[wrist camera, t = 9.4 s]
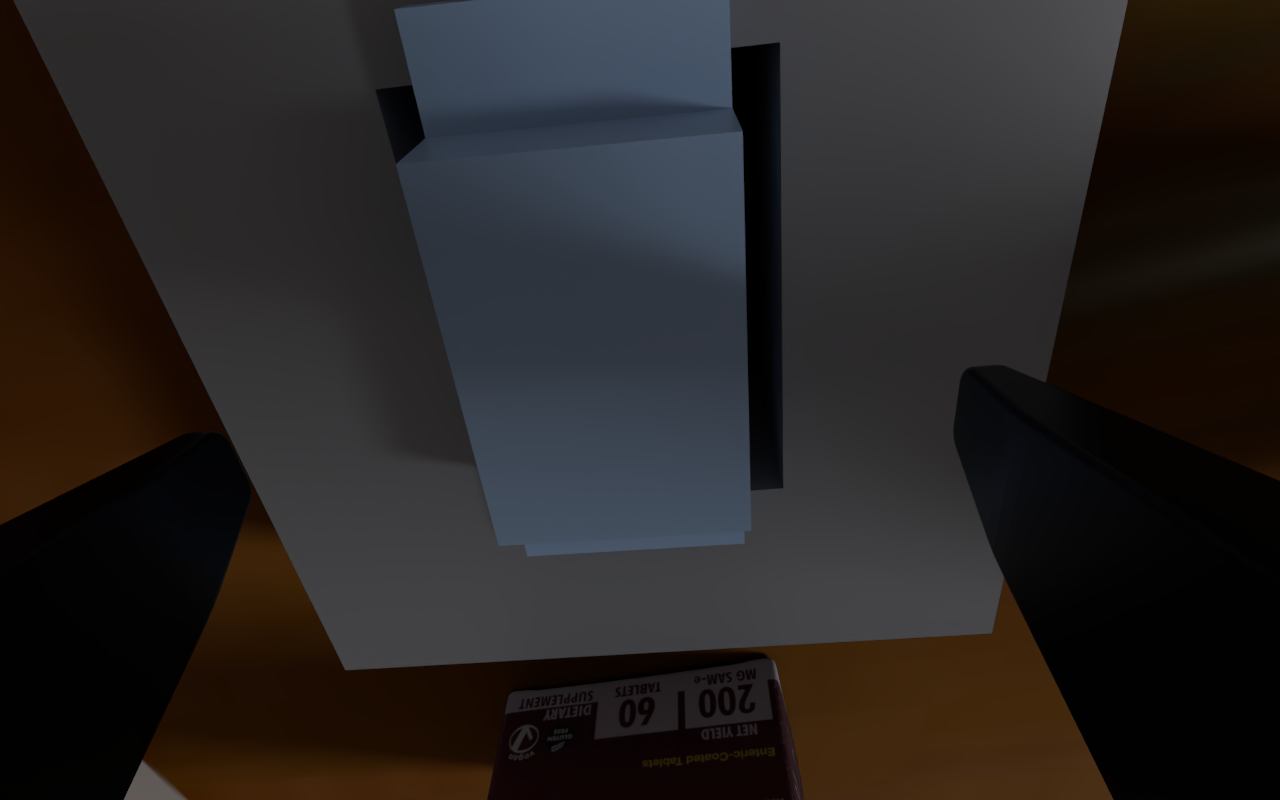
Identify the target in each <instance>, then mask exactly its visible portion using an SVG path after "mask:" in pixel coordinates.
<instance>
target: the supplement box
mask: <svg viewBox="0 0 1280 800" xmlns="http://www.w3.org/2000/svg"><path fill="white" fill-rule="evenodd" d="M487 800H804V797H803V790H802V783H801V776H800V772H799V768H798V762H797V757H796V753H795V747H794V742H793V738H792V734H791V729H790V725H789V721H788V717H787V712H786V708H785V703H784V699H783V695H782V690H781V686H780V681H779V677H778V672H777V668H776V665H775V662H774V661H773V659H771V658H762V659H755V660H751V661H747V662H744V663H739V664H732V665H725V666H718V667H711V668H704V669H697V670H690V671H683V672H676V673H669V674H662V675H654V676H646V677H639V678H632V679H625V680H617V681H609V682H601V683H594V684H586V685H577V686H568V687H560V688H551V689H543V690H523V691H515V692H512V693H511V694H510V695H509V696H508V701H507V705H506V711H505V715H504V719H503V726H502V730H501V735H500V740H499V745H498V749H497V754H496V759H495V764H494V768H493V774H492V779H491V784H490V789H489V794H488V799H487Z"/></svg>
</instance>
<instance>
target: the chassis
mask: <svg viewBox="0 0 1280 800" xmlns="http://www.w3.org/2000/svg"><path fill="white" fill-rule="evenodd" d="M13 1H14V3H15V5H16V7H17V9H18V11H19V13H20V15H21V17H22V19H23V21H24V23H25V25H26V27H27V29H28V31H29V33H30V35H31V37H32V39H33V41H34V43H35V45H36V47H37V49H38V51H39V53H40V55H41V57H42V59H43V61H44V63H45V65H46V67H47V69H48V71H49V73H50V75H51V77H52V79H53V81H54V83H55V85H56V87H57V89H58V91H59V93H60V95H61V97H62V99H63V101H64V103H65V105H66V107H67V109H68V112H69V114H70V116H71V118H72V120H73V122H74V124H75V126H76V128H77V130H78V132H79V134H80V136H81V138H82V140H83V142H84V144H85V146H86V148H87V150H88V152H89V154H90V156H91V158H92V160H93V162H94V164H95V166H96V168H97V170H98V172H99V174H100V176H101V178H102V180H103V182H104V184H105V186H106V188H107V190H108V192H109V194H110V196H111V198H112V200H113V202H114V204H115V206H116V208H117V210H118V212H119V214H120V216H121V218H122V220H123V222H124V225H125V227H126V229H127V231H128V233H129V235H130V237H131V239H132V241H133V243H134V245H135V247H136V249H137V251H138V253H139V255H140V257H141V259H142V261H143V263H144V265H145V267H146V269H147V271H148V273H149V275H150V277H151V279H152V281H153V283H154V285H155V287H156V289H157V291H158V293H159V295H160V297H161V299H162V301H163V303H164V305H165V307H166V309H167V311H168V313H169V315H170V317H171V319H172V321H173V323H174V325H175V327H176V329H177V331H178V333H179V335H180V338H181V340H182V342H183V344H184V346H185V348H186V350H187V352H188V354H189V356H190V358H191V360H192V362H193V364H194V366H195V368H196V370H197V372H198V374H199V376H200V378H201V380H202V382H203V384H204V386H205V388H206V390H207V392H208V394H209V396H210V398H211V400H212V402H213V404H214V406H215V408H216V410H217V412H218V414H219V416H220V418H221V420H222V422H223V424H224V426H225V428H226V430H227V432H228V434H229V436H230V438H231V440H232V442H233V444H234V446H235V448H236V451H237V453H238V455H239V457H240V459H241V461H242V463H243V465H244V467H245V469H246V471H247V473H248V475H249V477H250V479H251V481H252V483H253V485H254V487H255V489H256V491H257V493H258V495H259V497H260V499H261V501H262V503H263V505H264V507H265V509H266V511H267V513H268V515H269V517H270V519H271V521H272V523H273V525H274V527H275V529H276V531H277V533H278V535H279V537H280V539H281V541H282V543H283V545H284V547H285V549H286V551H287V553H288V555H289V557H290V559H291V561H292V564H293V566H294V568H295V570H296V572H297V574H298V576H299V578H300V580H301V582H302V584H303V586H304V588H305V590H306V592H307V594H308V596H309V598H310V600H311V602H312V604H313V606H314V608H315V610H316V612H317V614H318V616H319V618H320V620H321V622H322V624H323V626H324V628H325V630H326V632H327V634H328V636H329V638H330V640H331V642H332V644H333V646H334V648H335V650H336V652H337V654H338V656H339V658H340V660H341V662H342V664H343V666H344V668H345V670H359V669H377V668H394V667H412V666H429V665H447V664H464V663H482V662H499V661H516V660H534V659H551V658H569V657H586V656H604V655H621V654H639V653H656V652H673V651H691V650H708V649H726V648H743V647H761V646H778V645H796V644H813V643H830V642H848V641H865V640H883V639H900V638H918V637H935V636H953V635H970V634H987V633H992V631H993V626H994V621H995V617H996V612H997V607H998V603H999V598H1000V593H1001V589H1002V584H1003V579H1004V576H1003V574H1002V572H1001V570H1000V568H999V566H998V563H997V561H996V559H995V557H994V555H993V552H992V550H991V547H990V545H989V542H988V539H987V537H986V534H985V531H984V528H983V525H982V522H981V519H980V516H979V513H978V511H977V508H976V505H975V502H974V499H973V496H972V493H971V490H970V487H969V484H968V482H967V479H966V476H965V473H964V470H963V467H962V464H961V461H960V458H959V455H958V453H957V450H956V446H955V442H954V435H953V426H954V418H955V411H956V404H957V397H958V390H959V383H960V378H961V376H962V373H963V372H964V371H965V369H967V368H969V367H974V366H985V365H1004V366H1007V367H1009V368H1012V369H1014V370H1017V371H1019V372H1021V373H1024V374H1026V375H1028V376H1031V377H1033V378H1036V379H1038V380H1040V381H1043V382H1045V383H1046V379H1047V375H1048V370H1049V365H1050V361H1051V356H1052V351H1053V347H1054V342H1055V338H1056V333H1057V328H1058V324H1059V319H1060V314H1061V310H1062V305H1063V300H1064V296H1065V291H1066V286H1067V282H1068V277H1069V272H1070V268H1071V263H1072V258H1073V254H1074V249H1075V245H1076V240H1077V235H1078V231H1079V226H1080V221H1081V217H1082V212H1083V207H1084V203H1085V198H1086V193H1087V189H1088V184H1089V179H1090V175H1091V170H1092V165H1093V161H1094V156H1095V151H1096V147H1097V142H1098V138H1099V133H1100V128H1101V124H1102V119H1103V114H1104V110H1105V105H1106V100H1107V96H1108V91H1109V86H1110V82H1111V77H1112V72H1113V68H1114V63H1115V58H1116V54H1117V49H1118V45H1119V40H1120V35H1121V31H1122V26H1123V21H1124V17H1125V12H1126V7H1127V3H1128V0H729V2H730V38H731V48H735V47H743V46H748V48H749V84H750V120H751V156H752V192H753V228H754V264H755V300H756V336H757V372H758V377H749V378H748V398H749V444H750V491H751V531H744V536H745V544H729V545H712V546H695V547H678V548H662V549H645V550H628V551H611V552H594V553H577V554H560V555H544V556H527V553H526V549H525V545H509V546H498V542H497V538H496V535H495V531H494V527H493V524H492V520H491V516H490V512H489V509H488V505H487V501H486V498H485V494H484V490H483V486H482V483H481V479H480V475H479V472H478V468H477V464H476V460H475V457H474V453H473V449H472V446H471V442H470V438H469V434H468V431H467V427H466V423H465V420H464V416H463V412H462V408H461V405H460V401H459V397H458V394H457V390H456V386H455V382H454V379H453V375H452V371H451V368H450V364H449V360H448V356H447V353H446V349H445V345H444V342H443V338H442V334H441V330H440V327H439V323H438V319H437V316H436V312H435V308H434V304H433V301H432V297H431V293H430V290H429V286H428V282H427V278H426V275H425V271H424V267H423V264H422V260H421V256H420V252H419V249H418V245H417V241H416V238H415V234H414V230H413V226H412V223H411V219H410V215H409V212H408V208H407V204H406V200H405V197H404V193H403V189H402V186H401V182H400V178H399V174H398V171H397V167H396V164H397V163H398V162H399V161H400V160H401V159H403V158H404V157H405V156H406V155H407V154H408V153H409V152H410V151H412V150H413V149H414V148H415V147H416V146H417V145H418V144H419V143H421V142H422V141H423V140H424V139H425V135H424V130H423V126H422V122H421V118H420V114H419V110H418V106H417V102H416V98H415V94H414V89H413V85H412V81H411V77H410V73H409V69H408V65H407V61H406V57H405V53H404V48H403V44H402V40H401V36H400V32H399V28H398V24H397V20H396V16H395V11H394V9H397V8H400V7H403V6H407V5H414V4H423V3H432V2H441V1H450V0H13Z"/></svg>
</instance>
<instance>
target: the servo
mask: <svg viewBox="0 0 1280 800" xmlns="http://www.w3.org/2000/svg"><path fill="white" fill-rule="evenodd" d="M394 11H395V16H396V20H397V24H398V28H399V32H400V36H401V40H402V44H403V48H404V53H405V57H406V61H407V65H408V69H409V73H410V77H411V81H412V85H413V89H414V94H415V98H416V102H417V106H418V110H419V114H420V118H421V122H422V126H423V130H424V135H425V139H424V140H423V141H422V142H421V143H419V144H418V145H417V146H416V147H415V148H414V149H413V150H412V151H410V152H409V153H408V154H407V155H406V156H405V157H404V158H403V159H401V160H400V161H399V162H398V163H397V164H396V167H397V171H398V174H399V178H400V182H401V186H402V189H403V193H404V197H405V200H406V204H407V208H408V212H409V215H410V219H411V223H412V226H413V230H414V234H415V238H416V241H417V245H418V249H419V252H420V256H421V260H422V264H423V267H424V271H425V275H426V278H427V282H428V286H429V290H430V293H431V297H432V301H433V304H434V308H435V312H436V316H437V319H438V323H439V327H440V330H441V334H442V338H443V342H444V345H445V349H446V353H447V356H448V360H449V364H450V368H451V371H452V375H453V379H454V382H455V386H456V390H457V394H458V397H459V401H460V405H461V408H462V412H463V416H464V420H465V423H466V427H467V431H468V434H469V438H470V442H471V446H472V449H473V453H474V457H475V460H476V464H477V468H478V472H479V475H480V479H481V483H482V486H483V490H484V494H485V498H486V501H487V505H488V509H489V512H490V516H491V520H492V524H493V527H494V531H495V535H496V538H497V542H498V546H509V545H525V549H526V553H527V556H544V555H560V554H577V553H594V552H611V551H628V550H645V549H662V548H678V547H695V546H712V545H729V544H745V536H744V531H751V491H750V444H749V398H748V351H747V304H746V257H745V210H744V163H743V131H742V128H741V126H740V124H739V122H738V119H737V117H736V115H735V113H734V110H733V108H732V73H731V38H730V2H729V0H450V1H441V2H432V3H423V4H414V5H407V6H403V7H400V8H397V9H394Z"/></svg>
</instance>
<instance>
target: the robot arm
mask: <svg viewBox="0 0 1280 800" xmlns="http://www.w3.org/2000/svg"><path fill="white" fill-rule="evenodd" d="M953 435H954V442H955V446H956V450H957V453H958V455H959V458H960V461H961V464H962V467H963V470H964V473H965V476H966V479H967V482H968V484H969V487H970V490H971V493H972V496H973V499H974V502H975V505H976V508H977V511H978V513H979V516H980V519H981V522H982V525H983V528H984V531H985V534H986V537H987V539H988V542H989V545H990V547H991V550H992V552H993V555H994V557H995V559H996V561H997V563H998V566H999V568H1000V570H1001V572H1002V574H1003V576H1004V578H1005V580H1006V582H1007V584H1008V586H1009V588H1010V590H1011V592H1012V594H1013V596H1014V598H1015V601H1016V603H1017V605H1018V607H1019V609H1020V611H1021V613H1022V615H1023V617H1024V619H1025V621H1026V623H1027V625H1028V627H1029V629H1030V631H1031V633H1032V635H1033V637H1034V639H1035V641H1036V643H1037V645H1038V647H1039V649H1040V651H1041V653H1042V655H1043V657H1044V659H1045V661H1046V663H1047V665H1048V667H1049V669H1050V672H1051V674H1052V676H1053V678H1054V680H1055V682H1056V684H1057V686H1058V688H1059V690H1060V692H1061V694H1062V696H1063V698H1064V700H1065V702H1066V704H1067V706H1068V708H1069V710H1070V712H1071V714H1072V716H1073V718H1074V720H1075V722H1076V724H1077V726H1078V728H1079V730H1080V732H1081V734H1082V736H1083V738H1084V741H1085V743H1086V745H1087V747H1088V749H1089V751H1090V753H1091V755H1092V757H1093V759H1094V761H1095V763H1096V765H1097V767H1098V769H1099V771H1100V773H1101V775H1102V777H1103V779H1104V781H1105V783H1106V785H1107V787H1108V789H1109V791H1110V793H1111V795H1112V797H1113V799H1114V800H1280V481H1279V480H1276V479H1274V478H1271V477H1269V476H1267V475H1264V474H1262V473H1259V472H1257V471H1255V470H1252V469H1250V468H1248V467H1245V466H1243V465H1240V464H1238V463H1236V462H1233V461H1231V460H1228V459H1226V458H1224V457H1221V456H1219V455H1217V454H1214V453H1212V452H1209V451H1207V450H1205V449H1202V448H1200V447H1197V446H1195V445H1193V444H1190V443H1188V442H1186V441H1183V440H1181V439H1178V438H1176V437H1174V436H1171V435H1169V434H1166V433H1164V432H1162V431H1159V430H1157V429H1155V428H1152V427H1150V426H1147V425H1145V424H1143V423H1140V422H1138V421H1136V420H1133V419H1131V418H1128V417H1126V416H1124V415H1121V414H1119V413H1116V412H1114V411H1112V410H1109V409H1107V408H1105V407H1102V406H1100V405H1097V404H1095V403H1093V402H1090V401H1088V400H1086V399H1083V398H1081V397H1078V396H1076V395H1074V394H1071V393H1069V392H1067V391H1064V390H1062V389H1059V388H1057V387H1055V386H1052V385H1050V384H1047V383H1045V382H1043V381H1040V380H1038V379H1036V378H1033V377H1031V376H1028V375H1026V374H1024V373H1021V372H1019V371H1017V370H1014V369H1012V368H1009V367H1007V366H1004V365H985V366H974V367H969V368H967V369H965V371H964V372H963V373H962V376H961V378H960V383H959V390H958V397H957V404H956V411H955V418H954V426H953ZM250 501H251V485H250V482H249V479H248V477H247V475H246V473H245V471H244V469H243V467H242V465H241V463H240V461H239V459H238V457H237V455H236V453H235V451H234V449H233V447H232V445H231V443H230V441H229V440H228V438H227V437H226V436H225V435H224V434H222V433H220V432H218V431H206V432H194V433H187V434H184V435H181V436H179V437H177V438H175V439H173V440H171V441H169V442H167V443H165V444H163V445H161V446H159V447H157V448H155V449H153V450H151V451H149V452H147V453H145V454H143V455H141V456H139V457H137V458H135V459H133V460H131V461H129V462H127V463H125V464H123V465H121V466H119V467H117V468H115V469H113V470H111V471H108V472H106V473H104V474H102V475H100V476H98V477H96V478H94V479H92V480H90V481H88V482H86V483H84V484H82V485H80V486H78V487H76V488H74V489H72V490H70V491H68V492H66V493H64V494H62V495H60V496H58V497H56V498H54V499H52V500H50V501H48V502H46V503H44V504H42V505H40V506H38V507H36V508H34V509H32V510H30V511H28V512H26V513H24V514H22V515H20V516H18V517H16V518H14V519H12V520H10V521H8V522H6V523H4V524H2V525H0V800H124V798H125V796H126V793H127V791H128V789H129V787H130V785H131V783H132V781H133V778H134V776H135V774H136V772H137V770H138V768H139V765H140V763H141V761H142V759H143V757H144V755H145V753H146V751H147V749H148V747H149V744H150V742H151V740H152V738H153V736H154V734H155V732H156V729H157V727H158V725H159V723H160V721H161V719H162V717H163V715H164V712H165V710H166V708H167V706H168V704H169V702H170V700H171V698H172V695H173V693H174V691H175V689H176V687H177V685H178V683H179V680H180V678H181V676H182V674H183V672H184V670H185V668H186V666H187V663H188V661H189V659H190V657H191V655H192V653H193V651H194V649H195V646H196V644H197V642H198V640H199V638H200V636H201V634H202V631H203V629H204V627H205V625H206V623H207V621H208V618H209V616H210V614H211V612H212V609H213V607H214V605H215V602H216V599H217V597H218V594H219V591H220V589H221V586H222V583H223V580H224V577H225V574H226V571H227V568H228V566H229V563H230V560H231V557H232V554H233V551H234V548H235V545H236V542H237V540H238V537H239V534H240V531H241V528H242V525H243V522H244V519H245V516H246V513H247V511H248V508H249V505H250Z"/></svg>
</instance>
